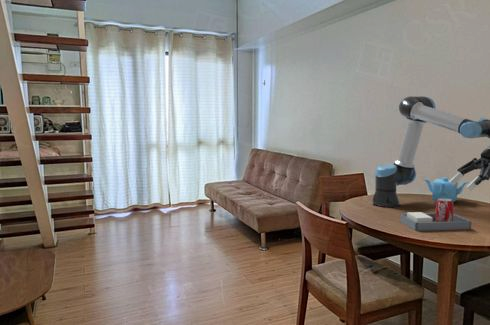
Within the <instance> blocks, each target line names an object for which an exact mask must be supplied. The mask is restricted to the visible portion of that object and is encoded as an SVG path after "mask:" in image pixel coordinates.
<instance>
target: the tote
mask: <svg viewBox="0 0 490 325" xmlns="http://www.w3.org/2000/svg"><path fill="white" fill-rule="evenodd" d="M423 213H424V214H426V215H428V216H430V217H432V218H433V220H432V222H420V223H417V222H415V221H413V220H411V219H410V218H408V217H407V213H400V214H399V222H401V223H402V224H404V225H406V226H407V227H408V228H411V230H413V231H415V232H417V231H418V232H422V231H423V232H424V231H451V230H452V231H454V230H455V231H456V230H461V231H462V230H471V229H472V220H468V219H466V218H463V217H462V216H460V215H457V214H455V213H453V222H436V212H434V213H433V212H428V213H427V212H426V213H425V212H423Z"/></svg>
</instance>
